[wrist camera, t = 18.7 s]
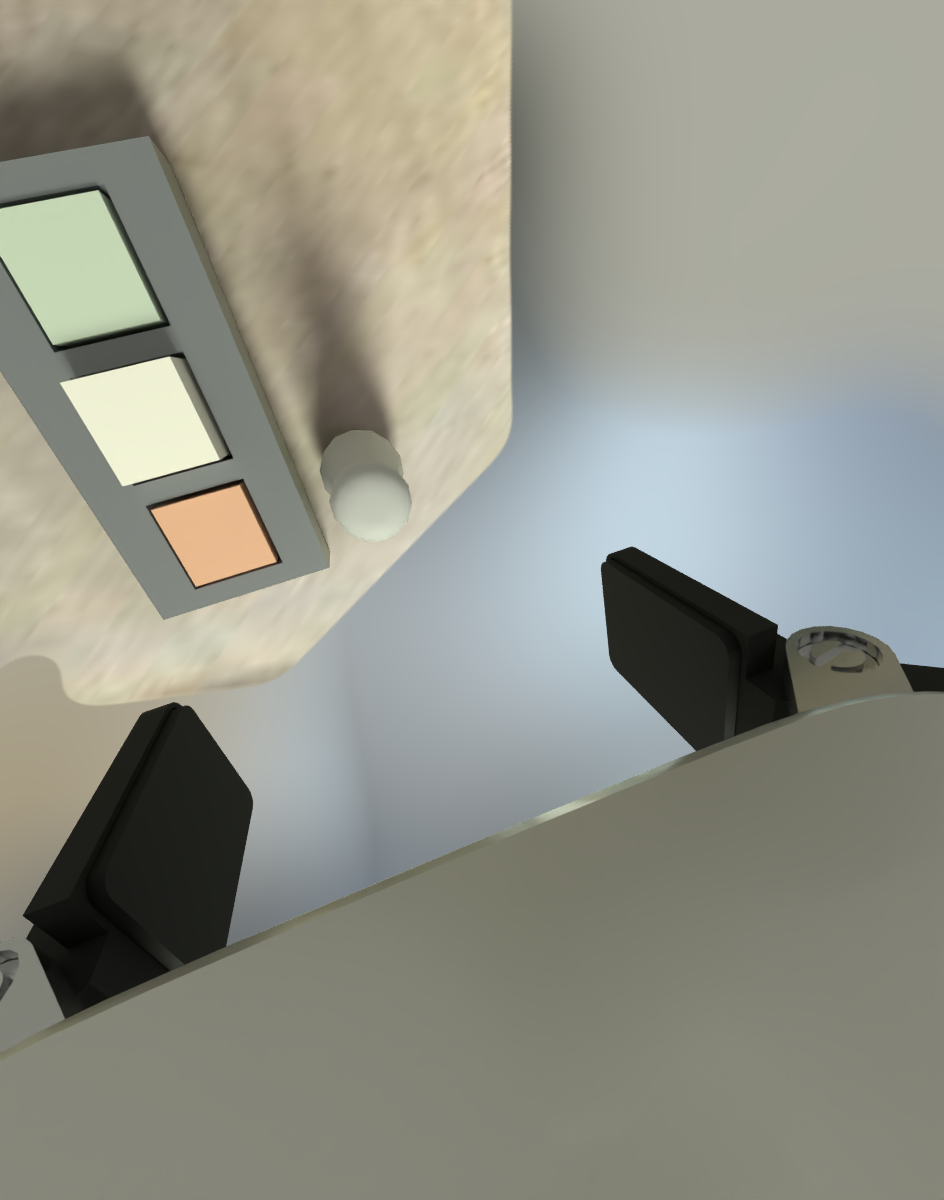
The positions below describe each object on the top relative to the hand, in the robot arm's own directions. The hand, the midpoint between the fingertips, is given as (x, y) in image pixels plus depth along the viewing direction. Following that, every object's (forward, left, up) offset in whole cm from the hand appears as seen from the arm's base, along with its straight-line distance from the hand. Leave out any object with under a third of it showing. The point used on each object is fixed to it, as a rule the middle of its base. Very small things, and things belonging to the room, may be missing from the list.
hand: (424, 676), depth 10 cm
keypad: (-6, -10, -28) cm, 31 cm away
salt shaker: (0, 0, -28) cm, 29 cm away
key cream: (-6, -10, -26) cm, 29 cm away
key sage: (-14, -11, -28) cm, 33 cm away
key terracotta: (+1, -10, -28) cm, 30 cm away
